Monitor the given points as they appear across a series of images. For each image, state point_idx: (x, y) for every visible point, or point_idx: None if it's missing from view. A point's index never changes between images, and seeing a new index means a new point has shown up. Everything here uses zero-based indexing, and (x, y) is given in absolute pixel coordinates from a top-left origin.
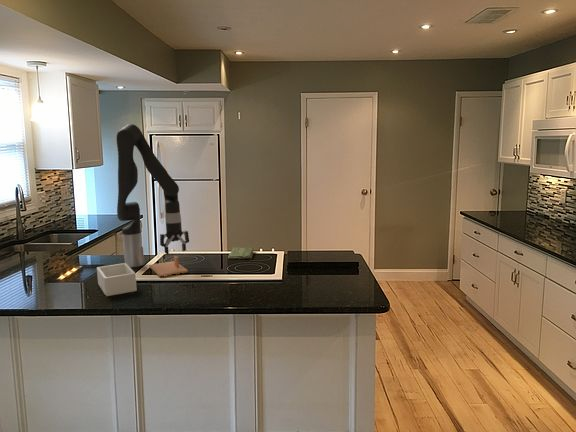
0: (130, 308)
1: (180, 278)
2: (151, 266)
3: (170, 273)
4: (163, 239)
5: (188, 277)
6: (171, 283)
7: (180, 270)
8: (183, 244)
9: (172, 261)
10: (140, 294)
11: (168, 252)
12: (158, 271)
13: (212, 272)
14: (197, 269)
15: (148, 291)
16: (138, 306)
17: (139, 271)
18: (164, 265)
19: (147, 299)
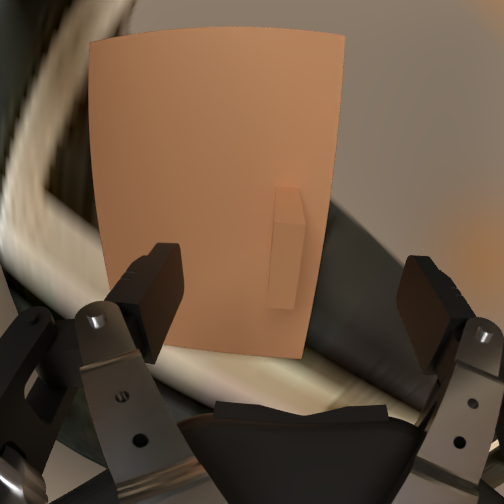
0: (65, 445)
1: (227, 385)
2: (93, 99)
3: (185, 345)
4: (35, 466)
5: (269, 394)
6: (171, 407)
7: (260, 339)
8: (434, 365)
9: (314, 39)
10: (68, 410)
11: (176, 307)
12: (118, 269)
13: (403, 387)
14: (392, 308)
15: (87, 409)
16: (79, 449)
17: (36, 107)
18: (195, 129)
19: (92, 441)
